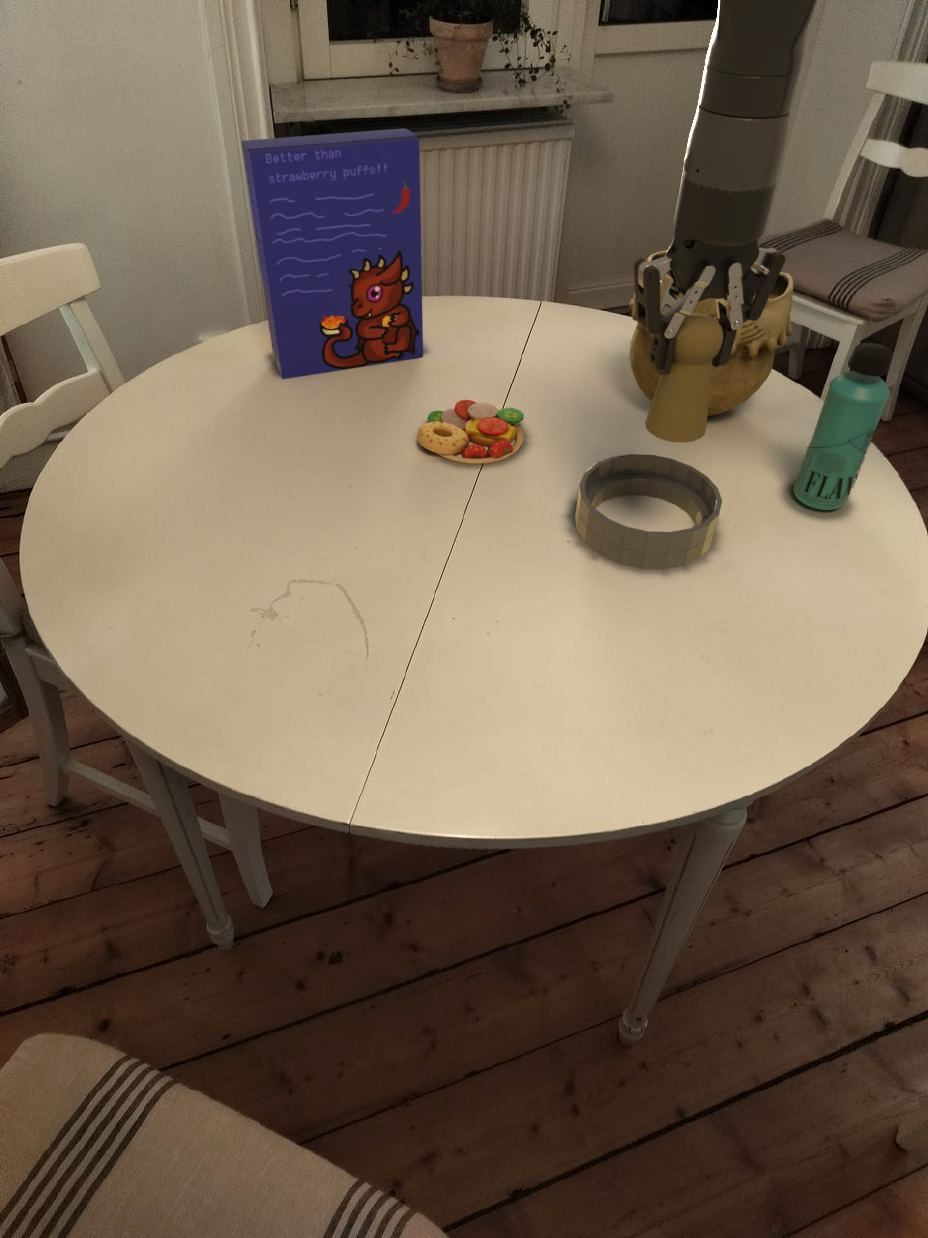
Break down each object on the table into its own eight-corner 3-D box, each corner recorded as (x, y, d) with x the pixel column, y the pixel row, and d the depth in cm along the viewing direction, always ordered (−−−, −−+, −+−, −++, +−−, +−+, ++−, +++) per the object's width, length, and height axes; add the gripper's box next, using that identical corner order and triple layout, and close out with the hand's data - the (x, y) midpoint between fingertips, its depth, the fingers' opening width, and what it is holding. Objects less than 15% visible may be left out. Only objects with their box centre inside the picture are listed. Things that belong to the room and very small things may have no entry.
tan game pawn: (713, 421, 84) (740, 315, 77) (694, 448, 80) (719, 340, 73) (657, 405, 86) (677, 301, 79) (635, 431, 82) (654, 324, 75)
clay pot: (681, 358, 129) (709, 222, 115) (796, 415, 117) (843, 271, 103) (583, 397, 119) (601, 254, 105) (697, 463, 107) (734, 312, 93)
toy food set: (408, 459, 107) (407, 437, 104) (440, 410, 116) (440, 388, 114) (508, 477, 104) (509, 455, 102) (533, 426, 113) (535, 404, 111)
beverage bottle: (786, 514, 99) (841, 357, 86) (789, 485, 104) (842, 331, 90) (843, 526, 98) (909, 367, 84) (844, 495, 102) (906, 340, 89)
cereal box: (411, 340, 132) (405, 125, 111) (423, 357, 128) (419, 137, 107) (274, 361, 126) (240, 138, 105) (282, 378, 122) (249, 151, 101)
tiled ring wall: (732, 525, 98) (744, 486, 94) (671, 594, 89) (681, 553, 85) (617, 478, 104) (623, 439, 101) (548, 537, 95) (553, 497, 92)
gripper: (673, 192, 63) (637, 396, 75) (833, 178, 66) (775, 375, 78) (629, 165, 68) (602, 359, 80) (780, 153, 72) (733, 341, 83)
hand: (688, 366), depth 79 cm, fingers closed on tan game pawn, 5 cm apart
